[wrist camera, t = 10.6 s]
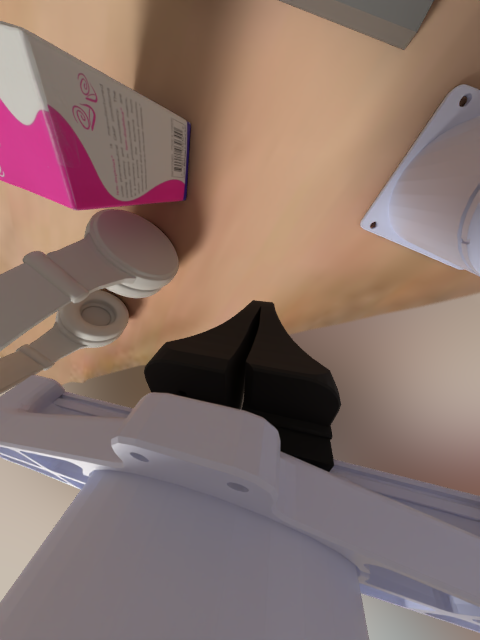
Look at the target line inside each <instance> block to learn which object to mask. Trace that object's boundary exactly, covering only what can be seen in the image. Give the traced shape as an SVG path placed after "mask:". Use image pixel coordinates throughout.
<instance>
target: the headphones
mask: <svg viewBox="0 0 480 640" xmlns="http://www.w3.org/2000/svg"><path fill="white" fill-rule="evenodd" d="M23 262H24V263H23V264H21V265H19V266H17V267H15V268H13V269H11V270H9V271H7V272H5V273H3V274H0V351H2V350H3V349H4V348H5V347H7V346H8V345H9V344H11V343H12V342H13V341H15V340H16V339H17V338H19V337H20V336H21V335H23V334H24V333H26V332H27V331H28V330H30V329H31V328H33V327H34V326H36V325H37V324H39V323H40V322H42V321H43V320H45V319H46V318H48V317H49V316H50V315H52V314H54V313H55V312H57V311H58V312H57V315H56V322H55V324H54V326H53V328H51V329H50V330H49V331H48V332H46V333H45V334H43V335H42V336H41V337H40V338H38V339H37V340H36V341H34V342H32V343H31V344H30V345H28V344H26V345H23V346H21V347H20V348H18V349H17V350H16V352H14V353H12V354H10V355H7V356H5V357H3V358H0V394H1V393H3V392H5V391H7V390H9V389H11V388H12V387H14V386H16V385H18V384H20V383H21V382H22V381H24V380H25V379H27V378H28V377H30V376H31V375H35V374H37V373H38V372H40V371H42V370H47V369H49V368H51V367H52V366H53V365H54V364H55V363H54V362H56V361H58V360H59V359H61V358H63V357H65V356H67V355H69V354H71V353H72V352H74V351H76V350H78V349H82V348H87V347H88V348H95V347H102V346H105V345H108V344H110V343H112V342H113V341H115V340H116V339H117V338H118V337H119V336H120V335H121V334H122V332H123V330H124V329H125V327H126V325H127V323H128V320H129V314H128V310H127V308H126V306H125V304H124V303H123V302H122V301H121V300H120V299H119V298H117V297H116V296H114V295H113V294H110V293H108V292H105V291H101V290H100V289H103V288H106V289H108V290H110V291H112V292H114V293H116V294H119V295H122V296H125V297H130V298H144V297H149V296H151V295H153V294H155V293H157V292H158V291H159V290H160V289H161V288H162V287H163V286H165V285H167V284H168V283H169V282H170V281H171V280H172V279H173V278H174V276H175V275H176V273H177V271H178V267H179V261H178V256H177V253H176V251H175V248H174V246H173V245H172V243H171V242H170V240H169V239H168V238H167V237H166V235H165V234H164V233H163V232H162V231H161V230H160V229H158V228H157V227H156V226H155V225H153V224H152V223H151V222H149V221H148V220H146V219H144V218H142V217H140V216H138V215H136V214H134V213H131V212H128V211H124V210H114V209H107V210H102V211H99V212H97V213H96V214H95V215H93V216H92V218H91V219H90V221H89V223H88V224H87V226H86V231H85V238H84V239H82V240H80V241H78V242H76V243H73V244H71V245H69V246H66V247H64V248H62V249H60V250H58V251H54V252H50V253H48V254H47V255H45V254H44V253H43V252H41V251H34V252H31V253H29V254H27V255H26V256H24V258H23Z"/></svg>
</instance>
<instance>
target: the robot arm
mask: <svg viewBox="0 0 480 640" xmlns="http://www.w3.org/2000/svg"><path fill="white" fill-rule="evenodd" d="M463 96H466V97H467V102H466V104H465V105H464V106H463V107H460V106H459V102H460V100H461V98H462V97H463ZM372 222H376V225H375V227H373V228H370V225H371V223H372ZM360 226H361V228H363V229H365V230H367V231H369V232H372V233H374V234H376V235H379V236H381V237H384V238H386V239H388V240H391V241H393V242H395V243H398V244H400V245H402V246H405V247H407V248H409V249H412V250H414V251H416V252H419V253H421V254H424V255H426V256H428V257H431V258H433V259H435V260H438V261H440V262H442V263H445V264H447V265H449V266H452V267H454V268H456V269H460V270H462V269H465V270H467V271H469V272H471V273H474V274H476V275H478V276H480V90H479V89H477V88H474V87H471V86H469V85H466V84H461V85H459V86H457V87H455V88H454V89H453V90H451V91H450V92H449V93H448V94H447V95H446V97H445V98H444V100H443V101H442V103H441V104H440V106H439V107H438V108H437V110H436V111H435V113H434V114H433V116H432V117H431V119H430V120H429V122H428V123H427V125H426V126H425V128H424V129H423V130H422V132H421V133H420V135H419V136H418V138H417V139H416V141H415V142H414V144H413V145H412V147H411V148H410V150H409V151H408V152H407V154H406V155H405V157H404V158H403V160H402V161H401V163H400V164H399V166H398V167H397V169H396V170H395V172H394V173H393V175H392V176H391V177H390V179H389V180H388V182H387V183H386V185H385V186H384V188H383V189H382V191H381V192H380V194H379V195H378V197H377V198H376V199H375V201H374V202H373V204H372V205H371V207H370V208H369V210H368V211H367V213H366V214H365V216H364V217H363V219H362V220H361V222H360ZM144 374H145V378H146V381H147V383H148V386H149V388H150V390H151V392H152V393H149V394H147V395H146V396H144V397H142V398H141V400H140V401H139V402H138V403H137V405H136V406H135V407H134V409H132V408H128V407H125V406H121V405H117V404H113V403H109V402H105V401H101V400H97V399H93V398H89V397H85V396H81V395H77V394H73V393H69V392H65V389H64V388H63V387H62V386H61V384H59V383H58V382H57V381H55V380H53V379H50V378H46V377H42V376H38V375H31V376H30V377H28V378H27V379H25V380H24V381H22V382H21V383H20V384H18V385H17V386H15V387H14V388H12V389H11V390H9V391H8V392H6V393H5V394H3V395H2V396H1V397H0V457H1V458H3V459H5V460H8V461H10V462H13V463H16V464H18V465H21V466H24V467H26V468H29V469H32V470H34V471H37V472H39V473H42V474H44V475H46V476H49V477H51V478H54V479H57V480H59V481H61V482H64V483H66V484H69V485H71V486H73V487H76V488H78V489H81V491H80V492H79V493H78V495H77V496H76V497H75V499H74V500H73V502H72V503H71V504H70V506H69V507H68V509H67V510H66V511H65V513H64V514H63V516H62V517H61V519H60V520H59V521H58V523H57V524H56V525H55V527H54V528H53V530H52V531H51V532H50V534H49V535H48V537H47V538H46V540H45V541H44V542H43V544H42V545H41V546H40V548H39V549H38V551H37V552H36V553H35V555H34V556H33V558H32V559H31V560H30V562H29V563H28V565H27V566H26V567H25V569H24V570H23V572H22V573H21V574H20V576H19V577H18V579H17V580H16V581H15V583H14V584H13V586H12V587H11V588H10V590H9V591H8V593H7V594H6V595H5V597H4V598H3V600H2V601H1V602H0V640H369V637H368V631H367V625H366V620H365V614H364V609H363V603H362V598H361V594H364V595H367V596H370V597H373V598H376V599H379V600H382V601H386V602H388V603H391V604H395V605H397V606H400V607H404V608H406V609H410V610H412V611H415V612H419V613H422V614H425V615H428V616H431V617H434V618H437V619H440V620H443V621H446V622H449V623H452V624H455V625H458V626H461V627H464V628H467V629H470V630H472V631H475V632H478V633H480V496H477V495H473V494H469V493H465V492H461V491H457V490H453V489H449V488H445V487H441V486H437V485H434V484H430V483H426V482H422V481H418V480H414V479H410V478H406V477H402V476H398V475H394V474H390V473H386V472H382V471H378V470H374V469H370V468H366V467H362V466H358V465H354V464H350V463H346V462H343V461H339V460H334V459H333V455H332V449H331V443H330V439H332V431H331V426H330V425H331V423H332V422H333V420H334V418H335V417H336V415H337V413H338V411H339V409H340V406H341V402H340V397H339V392H338V389H337V386H336V384H335V382H334V380H333V377H332V375H331V372H330V370H328V369H327V368H325V367H324V366H323V365H321V364H320V363H318V362H317V361H315V360H314V359H312V358H311V357H310V356H309V355H308V354H307V353H305V352H304V351H303V350H302V349H301V348H300V347H299V346H298V345H297V344H296V343H295V342H294V341H293V340H292V338H291V337H290V336H289V335H288V333H287V332H286V330H285V329H284V327H283V325H282V324H281V322H280V320H279V318H278V316H277V313H276V311H275V307H274V304H273V303H272V302H263V301H254V300H253V301H252V302H251V303H249V304H248V305H247V306H246V307H245V308H244V309H243V310H241V311H240V312H239V313H238V314H237V315H235V316H234V317H232V318H231V319H230V320H228V321H226V322H225V323H223V324H221V325H219V326H217V327H215V328H213V329H210V330H208V331H206V332H203V333H200V334H197V335H194V336H191V337H187V338H184V339H179V340H175V341H170V342H166V343H165V344H164V345H163V346H162V347H161V348H160V350H159V351H158V352H157V353H156V354H155V355H154V357H153V358H152V359H151V360H150V361H149V362H148V364H147V365H146V367H145V370H144ZM243 393H244V402H243V407H242V410H240V409H241V403H242V399H243Z"/></svg>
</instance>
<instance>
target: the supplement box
mask: <svg viewBox="0 0 480 640" xmlns="http://www.w3.org/2000/svg"><path fill="white" fill-rule="evenodd" d="M190 129H191V123H190V122H188V121H187V120H185V119H183V118H182V117H180V116H178V115H176V114H175V113H173V112H171V111H170V110H168V109H166V108H164V107H163V106H161V105H159V104H157V103H155V102H154V101H152V100H150V99H148V98H146V97H145V96H143V95H141V94H139V93H138V92H136V91H134V90H132V89H130V88H129V87H127V86H125V85H123V84H121V83H120V82H118V81H116V80H114V79H113V78H111V77H109V76H107V75H106V74H104V73H102V72H100V71H98V70H97V69H95V68H93V67H91V66H89V65H88V64H86V63H84V62H82V61H81V60H79V59H77V58H75V57H74V56H72V55H70V54H68V53H67V52H65V51H63V50H61V49H59V48H58V47H56V46H54V45H53V44H51V43H49V42H47V41H46V40H44V39H42V38H40V37H39V36H37V35H35V34H33V33H31V32H30V31H28V30H26V29H24V28H22V27H18V26H15V25H13V24H9V23H6V22H2V21H0V180H1V181H4V182H6V183H9V184H12V185H15V186H17V187H20V188H23V189H25V190H28V191H30V192H33V193H35V194H38V195H40V196H42V197H45V198H47V199H50V200H52V201H55V202H57V203H59V204H62V205H64V206H67V207H69V208H71V209H74V210H88V209H98V208H107V207H119V206H130V205H141V204H152V203H162V202H175V201H184V200H186V196H187V179H188V163H189V145H190Z"/></svg>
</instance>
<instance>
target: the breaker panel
mask: <svg viewBox="0 0 480 640" xmlns="http://www.w3.org/2000/svg"><path fill="white" fill-rule="evenodd" d="M279 1H282V2H284V3H287V4H289V5H292V6H294V7H297V8H299V9H302V10H304V11H307V12H310V13H312V14H315V15H317V16H320V17H322V18H325V19H327V20H330V21H332V22H335V23H337V24H340V25H342V26H345V27H347V28H350V29H353V30H355V31H358V32H360V33H363V34H365V35H368V36H370V37H373V38H375V39H378V40H380V41H383V42H385V43H388V44H390V45H393V46H396V47H398V48H401V49H403V50H404V49H405V48H406V47H407V45H408V44H409V42H410V41H411V40H412V38H413V37H414V36H415V34H416V33H417V31H418V29H419V27H420V25H421V24H422V22H423V20H424V18H425V16H426V14H427V12H428V10H429V9H430V7H431V5H432V3H433V1H434V0H279Z"/></svg>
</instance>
